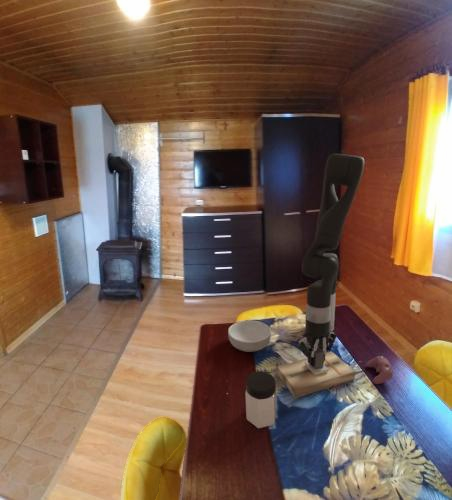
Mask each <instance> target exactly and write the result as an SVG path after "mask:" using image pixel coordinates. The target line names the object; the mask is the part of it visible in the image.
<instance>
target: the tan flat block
mask: <svg viewBox="0 0 452 500" xmlns="http://www.w3.org/2000/svg"><path fill="white" fill-rule="evenodd" d="M306 361H308V357H305V358H303V359H302V358H301V359H298V360H296V361H291V362H288V363H284V364H281V365H278V366H276V375H277V376H278V378H280V380H281V381H282V382H283V384H284V386H286V387H287V389H288V391H289V392H291V394H292V395H293V397H294V398H295V399H297V398H300V397H304V396H307V395H310V394H313V393H315V392H316V393H317V392H320V391H322V390H325V389H329V388H332V387H335V386H338V385H341V384H344V383H347V382H350V381H354V380H355V378H356V371H355V370H354V369H352V367H350V366H349V365H348V364H347V363H346V362H344V360H342V359H341V358H340V357H339V356H338V355H337V354H335V352H333V351H332V350H330V351H327V352H326V354H325V361H324V363H323V364H324V365H325V366H326V367H327V368H328V372H325V373H322V374H318V375H314V374H313V373H312V372H311V371H310V370H309V369H308V368H307V367H306V365H305V362H306Z"/></svg>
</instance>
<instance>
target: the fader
mask: <svg viewBox="0 0 452 500" xmlns="http://www.w3.org/2000/svg"><path fill="white" fill-rule="evenodd" d="M314 357H315V363H314V366H311V365H310V364H309V363H308V361H306V362H305V365H306V367H307V368H308V369H309V370H310V371H311V372H312V373H313V374H314V375H318V374H322V373H325V372H328V368H327V367H326V366H325V365H324V364H323V363H324V351H323V350H322V349H321V348H320V347H319V346H317V350H316V351H315V355H314Z"/></svg>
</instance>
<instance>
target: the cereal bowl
mask: <svg viewBox="0 0 452 500" xmlns="http://www.w3.org/2000/svg"><path fill="white" fill-rule="evenodd" d="M227 335H228V340H229V342H230V344H231V345H232V347H234V348H235V349H237V350H239V351H242V352H247V353H248V352H249V353H250V352H251V353H252V352H257V351H261V350H263V349H265V348H266V347H267V346H268V345H269V344H270V341H271V337H272V330H271V328H270V326H268V325H267V323H265V322H263V321H259V320H251V319H249V320H240V321H237V322H235V323H233V324H232V325H230V326H229V327H228V332H227Z"/></svg>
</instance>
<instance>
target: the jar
mask: <svg viewBox="0 0 452 500" xmlns="http://www.w3.org/2000/svg"><path fill="white" fill-rule="evenodd" d="M276 383H277V382H276V379H275V377H274V376H273V375H272V374H271V373H270V372H269V373H268V372H266V371H255V372H252V373H250V374H249V375H248V376H247V377H246V380H245V384H246V385H245V389H246V390H245V415H246V418H245V419H246V420H247V421H248V422H250V423H251V424H252V425H254V426H255V427H256V428H257V429H262V428H267V427H271V426H273V425H275V421H276V417H277V386H276Z"/></svg>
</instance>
